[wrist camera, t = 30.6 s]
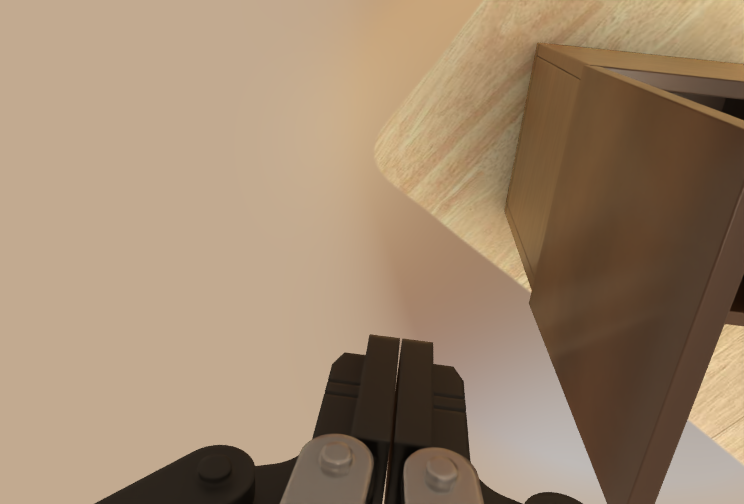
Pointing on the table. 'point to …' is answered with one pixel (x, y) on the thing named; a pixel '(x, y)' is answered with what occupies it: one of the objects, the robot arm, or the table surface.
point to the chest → (553, 116)
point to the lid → (639, 270)
